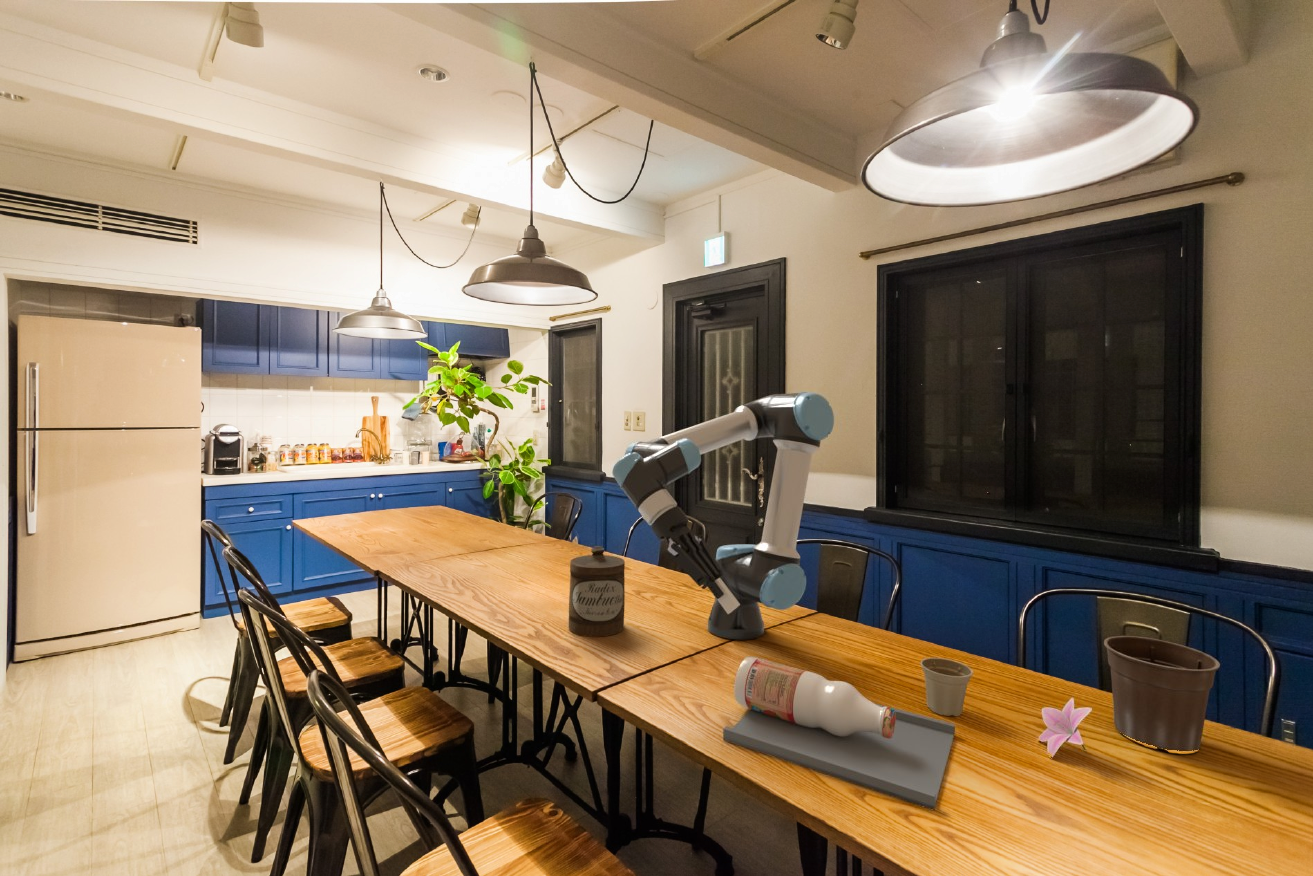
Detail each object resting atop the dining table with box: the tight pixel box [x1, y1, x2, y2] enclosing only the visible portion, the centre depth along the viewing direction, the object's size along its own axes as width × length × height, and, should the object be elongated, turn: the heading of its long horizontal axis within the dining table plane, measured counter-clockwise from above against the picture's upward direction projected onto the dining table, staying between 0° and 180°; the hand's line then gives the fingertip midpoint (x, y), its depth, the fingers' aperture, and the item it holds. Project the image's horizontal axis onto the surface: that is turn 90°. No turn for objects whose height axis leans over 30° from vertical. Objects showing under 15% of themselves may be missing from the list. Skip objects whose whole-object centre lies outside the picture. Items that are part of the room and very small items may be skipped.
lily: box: [1037, 697, 1093, 758], centre depth 105 cm, size 11×11×9 cm
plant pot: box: [1103, 635, 1221, 751], centre depth 111 cm, size 16×16×16 cm
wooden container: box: [568, 545, 626, 638], centre depth 162 cm, size 15×15×22 cm
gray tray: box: [722, 702, 956, 811], centre depth 108 cm, size 34×26×2 cm
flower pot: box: [920, 657, 974, 717], centre depth 120 cm, size 9×9×9 cm
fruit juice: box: [733, 656, 896, 739], centre depth 111 cm, size 9×9×28 cm
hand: (734, 609), depth 119 cm, fingers closed
